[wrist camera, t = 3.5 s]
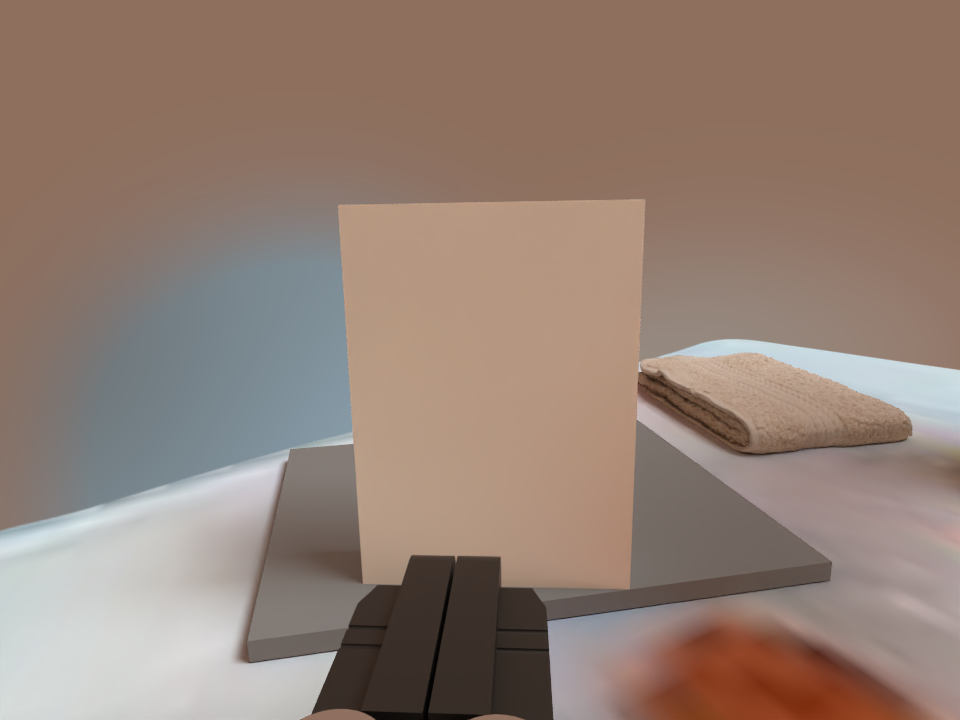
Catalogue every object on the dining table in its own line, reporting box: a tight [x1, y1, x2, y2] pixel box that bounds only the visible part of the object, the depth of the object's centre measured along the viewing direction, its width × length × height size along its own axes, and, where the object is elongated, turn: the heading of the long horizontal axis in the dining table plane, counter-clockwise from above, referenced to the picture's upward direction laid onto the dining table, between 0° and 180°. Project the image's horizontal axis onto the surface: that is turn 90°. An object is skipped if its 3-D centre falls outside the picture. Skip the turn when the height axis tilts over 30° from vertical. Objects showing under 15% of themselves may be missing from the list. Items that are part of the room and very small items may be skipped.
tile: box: [338, 199, 645, 589], centre depth 24 cm, size 10×2×14 cm, turn 86°
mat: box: [247, 420, 832, 662], centre depth 32 cm, size 22×18×1 cm
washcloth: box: [638, 353, 912, 454], centre depth 48 cm, size 12×18×3 cm, turn 11°
